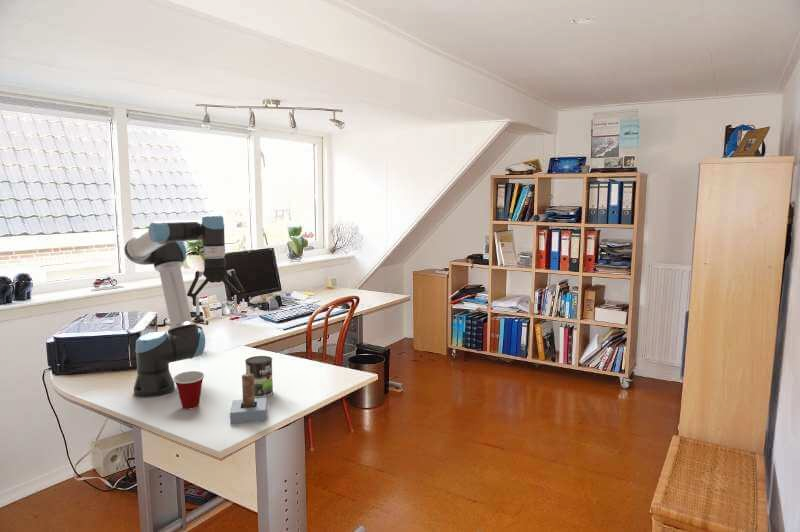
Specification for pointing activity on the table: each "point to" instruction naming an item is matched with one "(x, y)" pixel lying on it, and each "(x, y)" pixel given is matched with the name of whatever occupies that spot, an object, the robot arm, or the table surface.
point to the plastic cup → (189, 388)
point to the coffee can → (260, 375)
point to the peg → (248, 390)
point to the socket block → (248, 411)
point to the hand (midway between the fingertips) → (217, 313)
